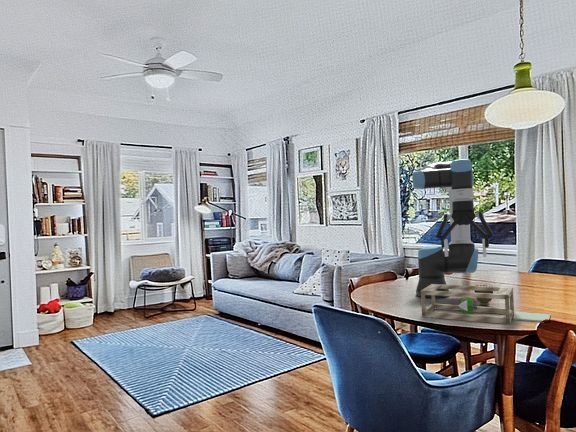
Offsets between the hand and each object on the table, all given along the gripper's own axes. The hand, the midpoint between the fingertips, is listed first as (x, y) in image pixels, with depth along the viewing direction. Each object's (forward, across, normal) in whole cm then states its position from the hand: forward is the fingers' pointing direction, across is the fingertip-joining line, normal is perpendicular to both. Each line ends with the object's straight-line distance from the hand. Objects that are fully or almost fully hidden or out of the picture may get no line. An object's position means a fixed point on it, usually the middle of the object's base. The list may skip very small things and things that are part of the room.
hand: (465, 256), depth 164 cm
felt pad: (+22, +21, +4) cm, 31 cm away
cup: (+22, +3, +20) cm, 30 cm away
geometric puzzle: (+23, 0, 0) cm, 23 cm away
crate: (+22, 0, 0) cm, 22 cm away
